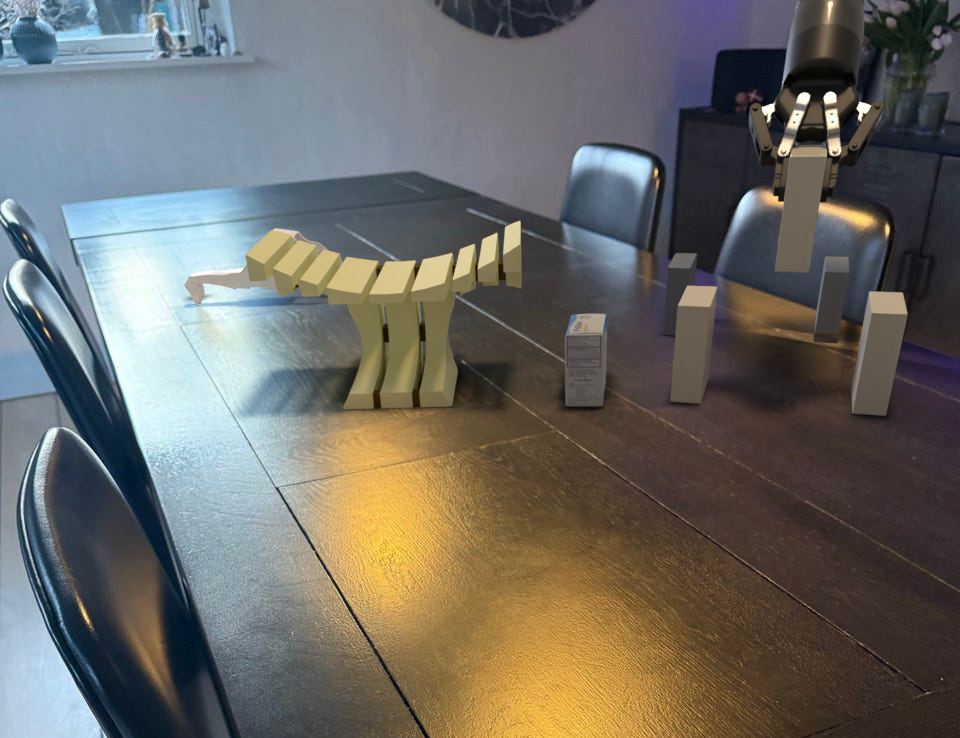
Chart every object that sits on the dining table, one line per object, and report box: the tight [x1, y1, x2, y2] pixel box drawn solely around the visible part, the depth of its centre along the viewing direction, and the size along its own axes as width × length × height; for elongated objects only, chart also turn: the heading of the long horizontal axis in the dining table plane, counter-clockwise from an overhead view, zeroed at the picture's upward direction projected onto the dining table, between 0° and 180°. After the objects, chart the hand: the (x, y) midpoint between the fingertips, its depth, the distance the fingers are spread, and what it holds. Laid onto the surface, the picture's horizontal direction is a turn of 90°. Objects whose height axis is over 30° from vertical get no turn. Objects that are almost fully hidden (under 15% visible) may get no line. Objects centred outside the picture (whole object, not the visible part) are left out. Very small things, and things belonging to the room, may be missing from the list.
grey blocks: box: [662, 252, 850, 344], centre depth 127 cm, size 23×8×9 cm, turn 73°
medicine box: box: [564, 313, 608, 408], centre depth 108 cm, size 8×4×9 cm, turn 171°
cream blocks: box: [670, 285, 909, 417], centre depth 105 cm, size 24×8×11 cm, turn 73°
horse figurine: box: [183, 227, 344, 306], centre depth 150 cm, size 5×16×25 cm
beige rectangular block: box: [774, 144, 827, 274], centre depth 98 cm, size 4×8×11 cm, turn 163°
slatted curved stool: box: [245, 220, 523, 410], centre depth 112 cm, size 30×16×18 cm, turn 88°
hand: (802, 196), depth 96 cm, fingers closed on beige rectangular block, 3 cm apart
